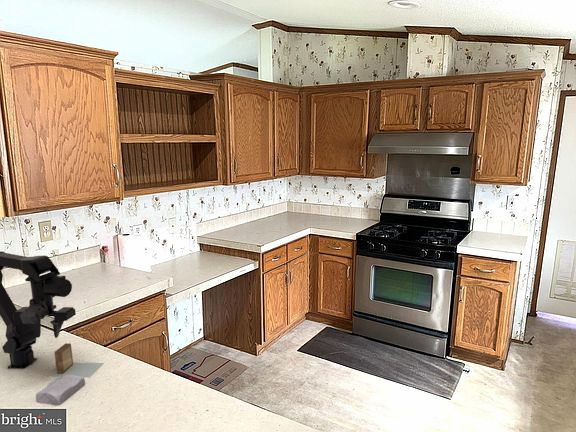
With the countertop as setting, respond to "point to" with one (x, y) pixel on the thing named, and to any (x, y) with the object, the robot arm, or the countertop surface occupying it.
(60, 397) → the stone block
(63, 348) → the walnut tile
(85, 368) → the rubber mat
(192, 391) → the countertop surface
